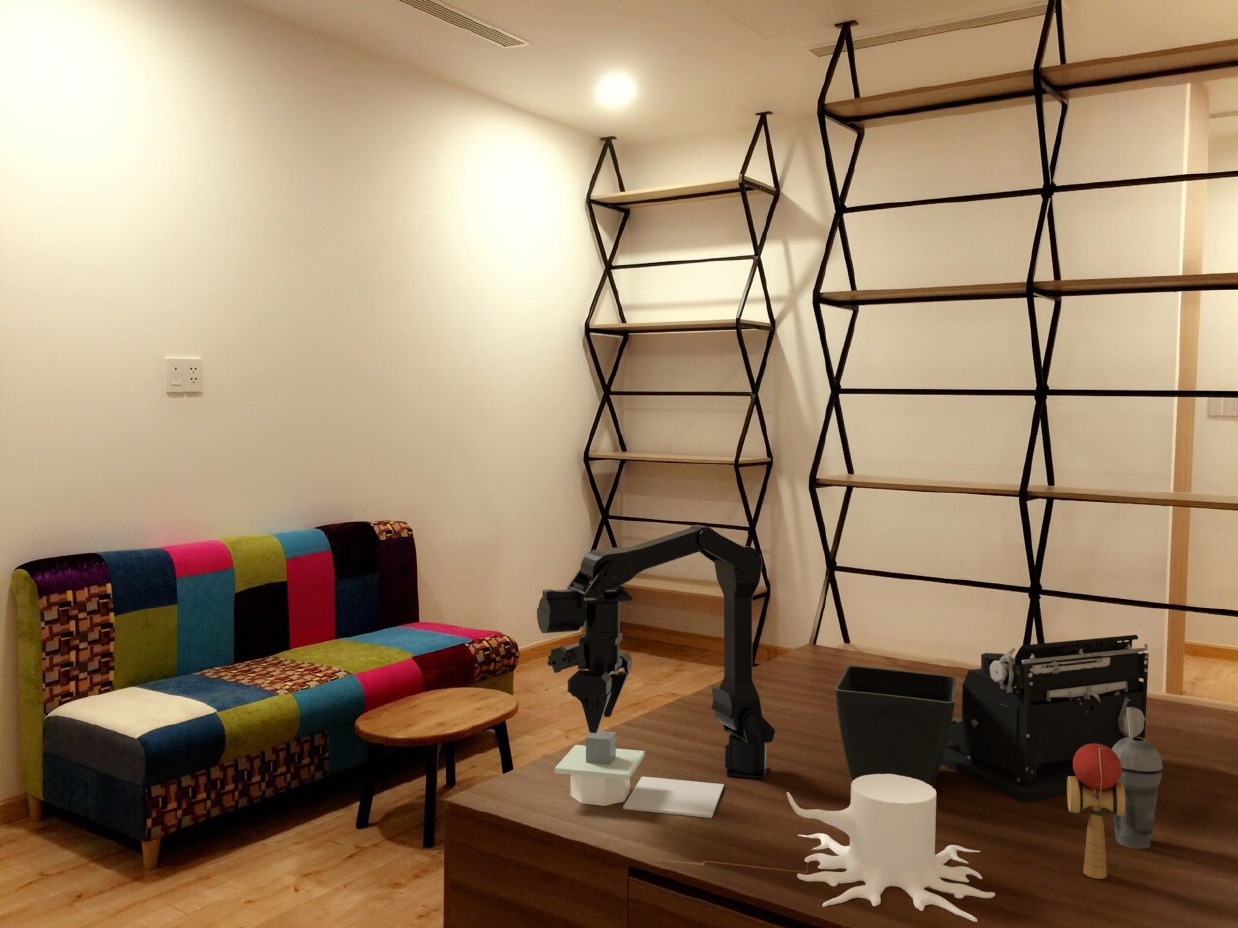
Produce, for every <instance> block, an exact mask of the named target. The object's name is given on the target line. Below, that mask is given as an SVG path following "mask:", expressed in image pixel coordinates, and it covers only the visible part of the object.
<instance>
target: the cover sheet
mask: <svg viewBox="0 0 1238 928" xmlns="http://www.w3.org/2000/svg"><path fill="white" fill-rule="evenodd" d="M644 757H645V750H637V749H627V748H617V731H616V732H615V731H603V730H597V732H596V733H590V732H589V734H588V735H587V736H586V737H585V745H581V744H574V746H573V747H572V748H571V749H570V750H569V751H568V753H566V755H565V756H564V757H563V758H562V759H561V761H560V762H559V763H558V764H557V765H556V766H555V767H554V774H559V775H570V776H571V775H580V776H590V777H601V778H611V779H622V780H629V779H630V780H631V777H632V776H633V775H634V773H635V771H636V770H637V769H638V767H639V765H640V763H641V762H642V760H643V759H644Z"/></svg>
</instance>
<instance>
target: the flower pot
mask: <svg viewBox="0 0 1238 928" xmlns="http://www.w3.org/2000/svg"><path fill="white" fill-rule="evenodd" d="M956 685H957V678H956V677H955V676H952V675H943V674H935V673H934V674H933V673H926V672H917V671H907V670H899V669H898V670H897V669H889V668H881V667H880V668H879V667H868V666H859V665H847V666H846V668H845V670H844V672H843V674H842V676H841V678H840V679H839V681H838V683H837V685H836V686H835V701H836V710H837V711H836V712H837V720H838V725H839V727H838V728H839V731H840V737H841V743H842V746H843V747H842V749H843V753H844V756H845V760H846V765H847V768H848V771H849V775H850V776H849V777H850V778H851V782H853V780H855V779H857V778H858V777H860V776H861V777H862V776H865V775H871V774H874V775H875V774H894V775H899V776H906V777H911V778H914V779H918V780H921V781H923V782H924V783H926V784H929V785H930V786H932V788H934V785H935V782H936V780H937V777H938V774H939V771H940V768H941V766H942V765H941V762H942V759H943V756H944V752H945V748H946V744H947V740H948V736H949V731H950V726H951V721H952V719H953V717H954V715H953V714H954V709H955V701H956V699H955V698H956V696H955V695H956Z"/></svg>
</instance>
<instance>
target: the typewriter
mask: <svg viewBox="0 0 1238 928" xmlns="http://www.w3.org/2000/svg"><path fill="white" fill-rule="evenodd" d="M1134 640H1135V641H1136V640H1139V636H1138V635H1137V634H1130V635H1128V634H1127V635H1119V636H1108V637H1107V636H1106V637H1098V638H1088V639H1087V638H1085V639H1076V640H1075V639H1074V640H1066V641H1054V642H1043V643H1032V644H1023V645H1021V646H1020V647H1019V649H1018V651H1017V652H1016V654H1015V656H1014V657H1013V655H1014V652H1015V651H1016V650H1015V649H1016V648H1015V647H1011V648H1010V651H1007V652H1006V653H1005V654H1004V653H1001V652H999V653H997V652H996V653H995V652H985V653H981V654H980V657H981V658H980V659H981V660H980V663H981V664H980V668H975V669H974V668H973V669H968V672H966V676H965V678H964V681H963V682H962V686H961V688H962V689H961V690H962V694H961V695H962V697H961V717H953V718H952V721H951V726H950V731H949V736H948V740H947V744H946V748H945V752H944V756H943V759H942V762H941V766H943V767H945V768H948V769H950V770H951V771H954V772H956V773H958V774H960V775H963V776H964V777H966V778H969V779H971V780H973V781H974V782H977V783H979V784H981V785H983V786H986V787H988V788H990V789H993V790H994V791H996V792H998V793H1001V794H1003V795H1005V796H1007V797H1010V798H1011V799H1014V800H1016V801H1018V802H1020V803H1022V804H1027V803H1028V804H1029V803H1033V802H1038V801H1044V800H1048V799H1054V798H1060V797H1063V796H1064V797H1065V796H1066V797H1067V778H1068V776H1076V774H1075V772H1074V769H1073V758H1074V756H1075V754H1076V752H1077V751H1078V750H1079V749H1080V748H1081V747H1082V746H1084V745H1087V744H1101V745H1104V746H1106V747H1108V748H1110V749H1111V750H1112V748H1113V746H1114V745H1115V744H1116V743H1117V742H1118V741H1119V740H1121V739H1123V738H1126V737H1129V728H1128V717H1127V707H1130V709H1131V719H1132V730H1133V737H1140V738H1143V739H1145V740H1146V723H1147V701H1148V677H1149V674H1148V673H1149V671H1148V670H1149V657H1150V654H1149V653H1147V652H1145V651H1148V649H1149V646H1148V644H1147V643H1143V646H1144V647H1137V648H1133V641H1134ZM1140 652H1141V653H1140ZM1140 679H1142V680H1143V681H1141V680H1140ZM1076 777H1077V776H1076Z"/></svg>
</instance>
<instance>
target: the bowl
mask: <svg viewBox="0 0 1238 928" xmlns="http://www.w3.org/2000/svg"><path fill="white" fill-rule="evenodd" d="M569 786H570V789H569V790H570V791H569V793H570V794H569V796H570V797H571V798H573V799H574V800H576V801H577V802H578V803H581V804H584V805H594V806H602V807H605V806H610V805H613V804H619V803H624V802H626V801H627V799H628V798H629V796H630V795H631V778H630V779H629V780H622V779H611V778H601V777H590V776H580V775H570V785H569Z"/></svg>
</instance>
